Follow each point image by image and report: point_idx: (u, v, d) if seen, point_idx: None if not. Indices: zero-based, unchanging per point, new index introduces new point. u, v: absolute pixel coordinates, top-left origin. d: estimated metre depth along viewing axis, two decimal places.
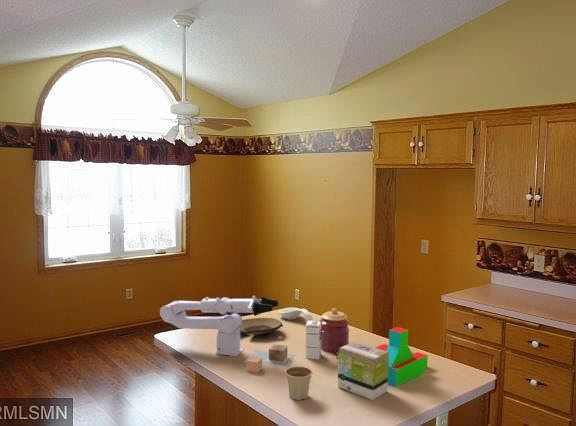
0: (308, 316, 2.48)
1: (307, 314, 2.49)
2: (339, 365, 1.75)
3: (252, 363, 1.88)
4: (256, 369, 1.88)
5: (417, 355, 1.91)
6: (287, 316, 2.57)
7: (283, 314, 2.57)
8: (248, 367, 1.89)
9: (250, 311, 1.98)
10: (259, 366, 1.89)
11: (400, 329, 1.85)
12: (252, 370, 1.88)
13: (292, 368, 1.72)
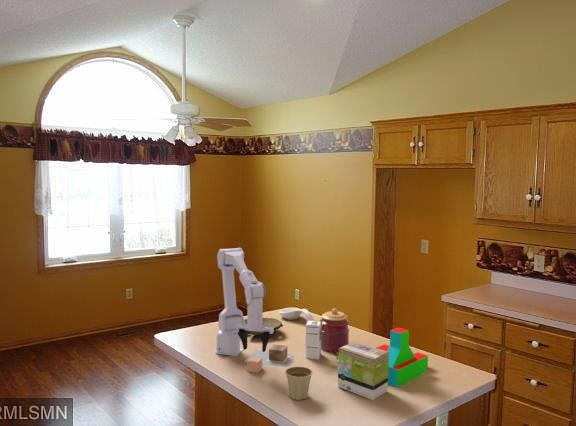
0: (309, 316, 2.48)
1: (308, 314, 2.49)
2: (339, 365, 1.75)
3: (252, 363, 1.88)
4: (256, 369, 1.88)
5: (418, 355, 1.91)
6: (288, 316, 2.56)
7: (284, 314, 2.57)
8: (248, 367, 1.89)
9: None
10: (259, 366, 1.89)
11: (401, 329, 1.85)
12: (252, 370, 1.88)
13: (292, 368, 1.72)
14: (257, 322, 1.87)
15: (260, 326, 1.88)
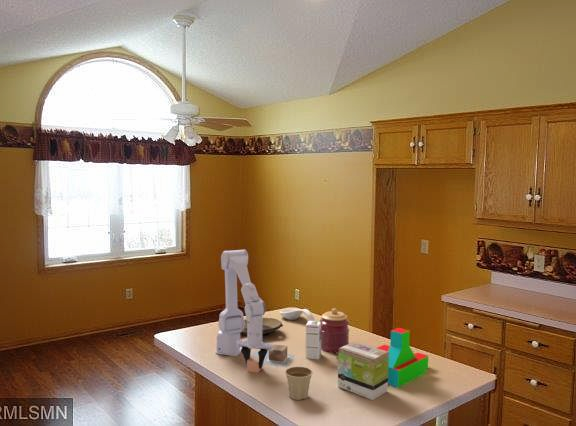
0: (310, 316, 2.48)
1: (309, 314, 2.49)
2: (339, 365, 1.75)
3: (252, 363, 1.88)
4: (256, 368, 1.88)
5: (418, 356, 1.91)
6: (288, 316, 2.56)
7: (284, 314, 2.57)
8: (248, 367, 1.89)
9: None
10: None
11: (402, 330, 1.85)
12: (252, 370, 1.88)
13: (292, 368, 1.72)
14: (257, 339, 1.87)
15: (260, 343, 1.88)
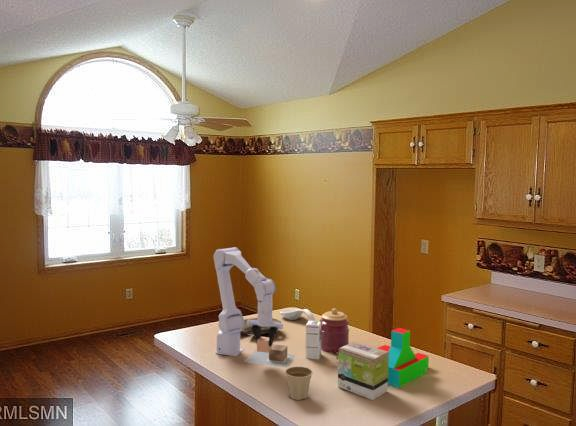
0: (310, 316, 2.48)
1: (309, 314, 2.48)
2: (339, 365, 1.75)
3: (262, 342, 1.92)
4: (266, 348, 1.92)
5: (419, 356, 1.91)
6: (289, 316, 2.56)
7: (285, 314, 2.56)
8: (258, 346, 1.93)
9: None
10: None
11: (402, 330, 1.85)
12: (262, 349, 1.93)
13: (292, 368, 1.72)
14: (267, 318, 1.91)
15: (270, 322, 1.92)
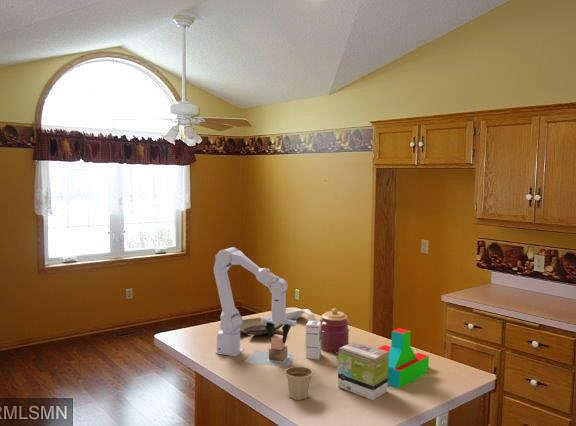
0: (311, 316, 2.48)
1: (310, 314, 2.48)
2: (339, 365, 1.75)
3: (276, 340, 1.99)
4: (280, 345, 1.99)
5: (419, 356, 1.90)
6: (289, 316, 2.56)
7: None
8: (272, 344, 2.00)
9: None
10: (282, 343, 2.00)
11: (402, 330, 1.84)
12: (276, 347, 2.00)
13: (292, 368, 1.72)
14: (281, 316, 1.99)
15: (284, 319, 2.00)
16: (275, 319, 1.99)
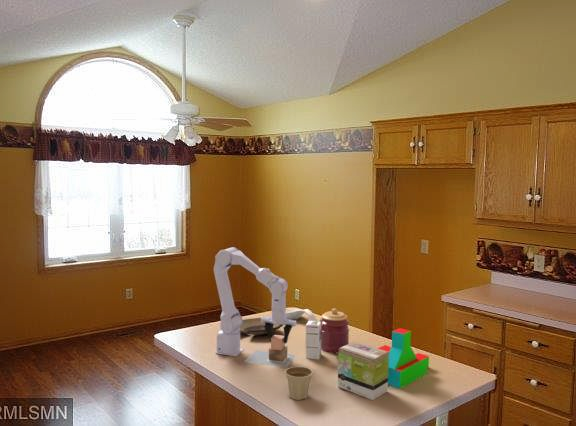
0: (311, 316, 2.48)
1: (310, 314, 2.48)
2: (339, 365, 1.75)
3: (275, 340, 1.99)
4: (280, 346, 1.99)
5: (419, 356, 1.90)
6: (290, 316, 2.56)
7: (286, 314, 2.56)
8: (272, 344, 2.00)
9: None
10: (282, 343, 2.00)
11: (403, 330, 1.84)
12: (276, 347, 2.00)
13: (292, 368, 1.72)
14: (281, 316, 1.99)
15: (284, 319, 2.00)
16: (275, 319, 1.99)
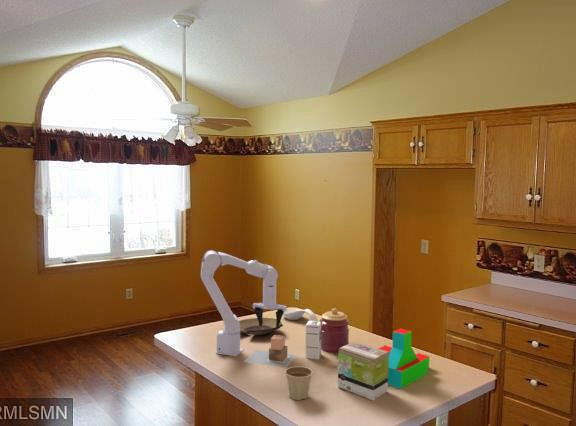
0: (312, 316, 2.48)
1: (311, 314, 2.48)
2: (339, 365, 1.75)
3: (275, 340, 1.99)
4: (280, 346, 1.99)
5: (420, 356, 1.90)
6: (290, 317, 2.56)
7: (286, 315, 2.56)
8: (272, 344, 2.00)
9: None
10: (282, 343, 2.00)
11: (404, 330, 1.84)
12: (276, 347, 2.00)
13: (292, 368, 1.72)
14: (272, 301, 2.09)
15: (274, 304, 2.10)
16: (266, 304, 2.09)
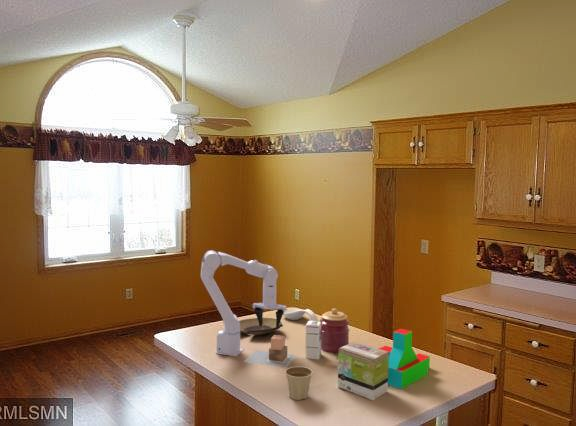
0: (313, 316, 2.48)
1: (312, 314, 2.48)
2: (339, 365, 1.75)
3: (275, 340, 1.99)
4: (280, 346, 1.99)
5: (420, 356, 1.90)
6: (291, 317, 2.56)
7: (287, 315, 2.56)
8: (272, 344, 2.00)
9: None
10: (282, 343, 2.00)
11: (404, 331, 1.84)
12: (276, 347, 2.00)
13: (292, 368, 1.72)
14: (272, 301, 2.09)
15: (274, 304, 2.10)
16: (266, 304, 2.09)
